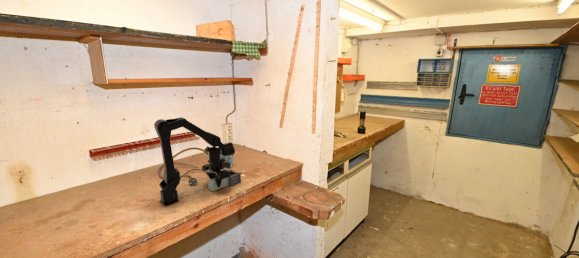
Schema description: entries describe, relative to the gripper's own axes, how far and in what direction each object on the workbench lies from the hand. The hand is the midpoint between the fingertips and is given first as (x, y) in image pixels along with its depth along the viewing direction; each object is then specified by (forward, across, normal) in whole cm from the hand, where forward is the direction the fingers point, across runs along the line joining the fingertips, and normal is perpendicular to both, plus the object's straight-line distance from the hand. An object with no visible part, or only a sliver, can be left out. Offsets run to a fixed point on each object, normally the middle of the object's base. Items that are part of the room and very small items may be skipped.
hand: (216, 185), depth 137 cm
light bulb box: (+1, +22, -21) cm, 30 cm away
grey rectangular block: (+1, 0, -2) cm, 2 cm away
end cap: (+1, 0, -9) cm, 9 cm away
